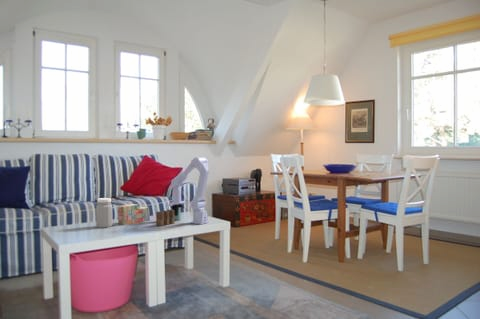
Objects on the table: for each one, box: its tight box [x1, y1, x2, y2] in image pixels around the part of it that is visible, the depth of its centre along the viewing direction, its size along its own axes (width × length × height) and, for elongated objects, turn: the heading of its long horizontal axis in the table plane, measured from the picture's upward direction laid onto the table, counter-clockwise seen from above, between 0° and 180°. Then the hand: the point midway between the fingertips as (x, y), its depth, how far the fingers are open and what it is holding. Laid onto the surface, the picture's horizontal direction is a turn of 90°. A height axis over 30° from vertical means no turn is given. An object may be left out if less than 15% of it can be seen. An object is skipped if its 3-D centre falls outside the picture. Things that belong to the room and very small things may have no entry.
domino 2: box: [161, 210, 170, 226], centre depth 255 cm, size 2×5×9 cm, turn 58°
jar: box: [95, 197, 114, 229], centre depth 247 cm, size 10×10×18 cm
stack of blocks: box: [117, 203, 151, 226], centre depth 263 cm, size 21×6×12 cm, turn 143°
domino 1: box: [155, 211, 165, 227], centre depth 251 cm, size 2×5×9 cm, turn 58°
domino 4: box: [174, 207, 182, 221], centre depth 272 cm, size 2×5×9 cm, turn 58°
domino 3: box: [166, 209, 175, 225], centre depth 259 cm, size 2×5×9 cm, turn 58°
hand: (177, 215), depth 272 cm, fingers closed on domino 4, 2 cm apart
